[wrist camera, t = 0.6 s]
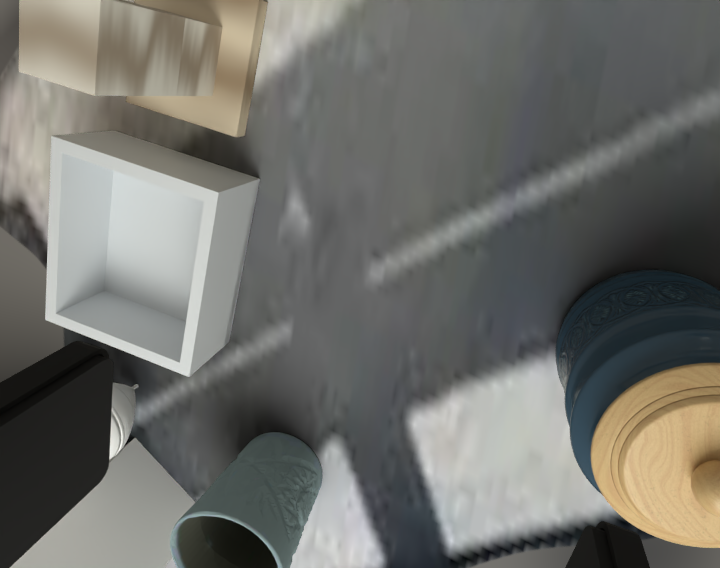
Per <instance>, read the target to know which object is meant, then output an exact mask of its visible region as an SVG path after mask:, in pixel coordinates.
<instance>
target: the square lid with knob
mask: <svg viewBox="0 0 720 568" xmlns="http://www.w3.org/2000/svg"><path fill="white" fill-rule="evenodd" d="M134 3H137V4H141V5H145V6H149V7H153V8H157V9H161V10H165V11H168V12H172V13H175V14H178V15H182V16H185V17H189V18H192V19H196V20H199V21H203V22H206V23H209V24H213V25H216V26H220V27H223V28H222V35H221V42H220V49H219V56H218V63H217V69H216V76H215V83H214V90H213V96H126V102H128V103H131V104H134V105H137V106H140V107H143V108H147V109H150V110H153V111H156V112H159V113H162V114H165V115H168V116H171V117H175V118H178V119H181V120H184V121H187V122H190V123H193V124H196V125H199V126H203V127H206V128H209V129H212V130H215V131H218V132H221V133H224V134H227V135H231V136H234V137H242V136H245V132H246V126H247V120H248V114H249V108H250V103H251V97H252V91H253V85H254V79H255V74H256V68H257V62H258V56H259V51H260V45H261V39H262V33H263V27H264V22H265V16H266V10H267V4H268V2H265V1H263V0H135V1H134Z"/></svg>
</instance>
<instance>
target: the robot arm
mask: <svg viewBox="0 0 720 568" xmlns="http://www.w3.org/2000/svg"><path fill="white" fill-rule="evenodd" d="M113 368H114V367H113V362H112V360H110V359H109V355H108V353H107V351H106V350H104V349H102V348H99V347H96V346H93V345H90V344H87V343H84V342H81V341H75V342H73V343H71V344H69V345H67V346H65V347H63V348H62V349H60V350H58V351H56V352H54V353H53V354H51V355H49V356H47V357H46V358H44V359H42V360H40V361H38V362H37V363H35V364H33V365H32V366H30V367H28V368H26V369H24V370H22V371H20V372H19V373H17V374H15V375H13V376H12V377H10V378H8V379H6V380H4V381H2V382H1V383H0V568H10V567H11V566H12V565H13V564H14V563H15V562H16V561H17V560H18V559H19V558H21V557H22V556H23V555H24V554H25V553H26V552H27V551H28V550H29V549H30V548H31V547H32V546H33V545H34V544H35V543H36V542H38V541H39V540H40V539H41V538H42V537H43V536H44V535H45V534H46V533H47V532H48V531H49V530H50V529H51V528H52V527H53V526H54V525H56V524H57V523H58V522H59V521H60V520H61V519H62V518H63V517H64V516H65V515H66V514H67V513H68V512H69V511H70V510H71V509H72V508H74V507H75V506H76V505H77V504H78V503H79V502H80V501H81V500H82V499H83V498H84V497H85V496H86V495H87V494H88V493H89V492H91V491H92V490H93V489H94V488H95V487H96V486H97V485H98V484H99V483H100V482H101V481H102V479H103V478H104V476H105V475H106V473H107V470H108V467H109V456H110V434H111V412H112V390H113ZM566 568H650V567H649V563H648V560H647V557H646V554H645V551H644V548H643V544H642V541H641V539H640V537H639V535H638V534H637V533H636V532H633V531H630V530H627V529H624V528H621V527H618V526H616V525H613V524H610V523H607V522H604V521H603V522H600V523H599V524H598V525H597V526H596V528H595V527H592V526H587V527H586V528H585V529H584V531H583V533H582V535H581V537H580V539H579V541H578V543H577V545H576V547H575V549H574V551H573V553H572V556H571V557H570V559H569V561H568V563H567V565H566Z"/></svg>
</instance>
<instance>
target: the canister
mask: <svg viewBox="0 0 720 568" xmlns="http://www.w3.org/2000/svg"><path fill="white" fill-rule="evenodd" d="M556 364H557V370H558V375H559V378H560V381H561V384H562V386H563V388H564V393H565V410H566V416H567V420H568V423H569V426H570V439H571V445H572V449H573V453H574V456H575V458H576V461H577V463H578V465H579V467H580V469H581V470H582V472H583V474H584V475H585V476H586V478H587V479H588V480H589V482H590V483H591V484H592V485H593V486H594V487H595V488H596V490H597V491H599V492H600V493H601V494H602V495H603V496H604V497H605V499H606V500H607V502H608V503H609V504H610V505H611V506H612V508H613V509H614V510H615V511H616V512H617V513H618V514H620V515H621V516H622V517H623V518H624V519H626V520H627V521H628V522H630V523H631V524H632V525H634V526H636V527H637V528H639V529H641V530H643V531H644V532H646V533H648V534H651V535H653V536H655V537H658V538H661V539H663V540H666V541H670V542H673V543H677V544H682V545H687V546H695V547H705V548H720V291H719V290H718V289H716V288H715V287H713V286H711V285H710V284H708V283H706V282H704V281H702V280H699V279H697V278H694V277H691V276H688V275H684V274H681V273H677V272H672V271H666V270H638V271H632V272H627V273H623V274H619V275H617V276H614V277H611V278H609V279H606V280H604V281H602V282H600V283H599V284H597V285H595V286H594V287H592V288H591V289H589V290H588V291H587V292H586V293H584V294H583V295H582V296H581V297H580V298H579V299H578V300H577V301H576V302H575V303H574V305H573V306H572V307H571V309H570V310H569V312H568V313H567V315H566V317H565V319H564V321H563V323H562V326H561V329H560V332H559V335H558V339H557V344H556Z"/></svg>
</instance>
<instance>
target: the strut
mask: <svg viewBox="0 0 720 568" xmlns="http://www.w3.org/2000/svg"><path fill="white" fill-rule="evenodd" d="M19 8H20V9H19V11H20V12H19V72H22V73H25V74H28V75H32V76H35V77H38V78H41V79H44V80H47V81H50V82H53V83H56V84H59V85H63V86H66V87H69V88H72V89H75V90H78V91H81V92H84V93H87V94H90V95H93V96H213V90H214V83H215V76H216V69H217V63H218V56H219V49H220V42H221V35H222V28H223V27H220V26H216V25H213V24H209V23H206V22H203V21H199V20H196V19H192V18H189V17H185V16H182V15H178V14H175V13H172V12H168V11H165V10H161V9H157V8H153V7H149V6H145V5H141V4H137V3H133V2H129V1H125V0H20V4H19Z"/></svg>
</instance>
